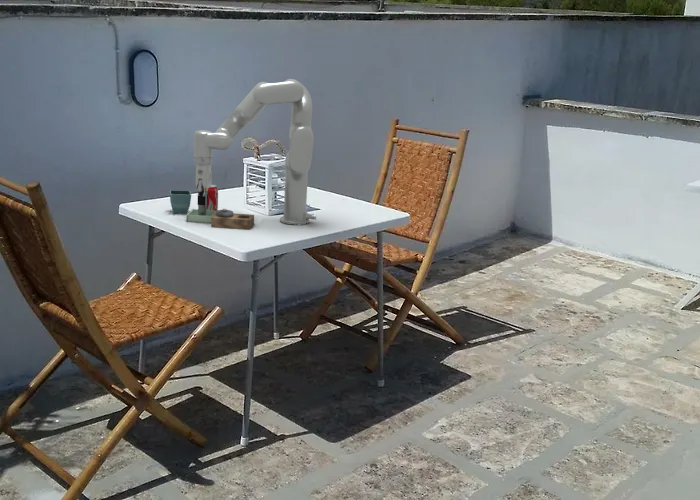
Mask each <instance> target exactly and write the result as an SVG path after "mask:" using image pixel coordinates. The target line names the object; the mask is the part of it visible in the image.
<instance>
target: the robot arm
mask: <svg viewBox="0 0 700 500" xmlns="http://www.w3.org/2000/svg"><path fill="white" fill-rule="evenodd" d="M280 104H291V117H290V118H291V119H290V127H289V132H288V137H289V148H288V149H289V150H288V151H287V153H286V155H285V159H284V170H285V171H284V172H285V173H284V175H285V176H284V197H283V199H284V200H283V216H281V217H279V222H280V223H283V224H285V223H287V224H286V225H291V224H294V225H293V226H297V225H298V224H303V225H306V223H307V224H309V223H310V220H315V221H316V220H317V214H314V213H308V210H307V202H308V201H307V199H308V197H307V196H308V178H309V175H308V174H309V173H308V171H309V170H310V169H311V166H312V160H313V150H314V139H315V138H314V132H313V130H312V118H313V100H312V96H311V95H310V92H309V90H308V88H307V87H306V86H304V85H303V84H302V83H301V82H300V81H298V80H297V79H294V78H287V79H286V80H285V81H281V82H270V83H269V82H266V81H260V82H259V83H256V85H255V86H254V87H253V88H252V89H251V90H250V92H249V93H248V94H247V95H246V96H245V97H244V98H243V99H242V100H241V102H240V103H239V104H238V105H237V106H236V108H234V110H233V111H232V112H231V113H230V115H228V117H227V118H225V120H224V121H223V122H222V123H221V125H220V126H219V127H218V128H217V129H216V130H215V132H212V131H211V130H205V129H200V130H196V131H195V132H194V135H193V136H194V139H193V140H194V142H193V149H194V150H193V152H194V153H193V165H195V188H196V189H197V206H198V205H204V206H205V202H206V196H205V188H206V189H207V203H208V188H209V187H210V186H211V185H212V183H213V181H212V179H213V178H212V165H213V157H214V156H213V150H218V151H226V150H229V149H230V148H231V146H232V143H233V140H234V139H235V137H236V136H237V135H238V134H239V133H240V132H241V130H242V129H244V128H245V127H246V126H248V125H250V124H251V123H252V122H254V121H255V119H256V118H257V117H258V116H259V115H260V114H261V112H262V111H263V110H265V109H264V108H266V106H267V105H268V106H269V105H272V106H273V105H280ZM202 190H203V191H202ZM308 222H309V223H308ZM296 224H297V225H296Z"/></svg>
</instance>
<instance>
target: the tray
mask: <svg viewBox="0 0 700 500" xmlns="http://www.w3.org/2000/svg"><path fill="white" fill-rule="evenodd" d="M215 213H216V211H213V210H206V215H204V216H201V215H198V208H192V209H191V210H190V211H189V212H187V213H186V217H185V218H186V223H199V224H210V225H211V217H212V216H213V215H214V214H215Z"/></svg>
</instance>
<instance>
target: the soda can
mask: <svg viewBox="0 0 700 500" xmlns="http://www.w3.org/2000/svg"><path fill="white" fill-rule="evenodd" d="M218 208H219V189H218V187H217V184H212V185H211V186H210V187H209V188H208V203H207V207H206V210H213V211H217V210H219V209H218Z"/></svg>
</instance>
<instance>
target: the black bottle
mask: <svg viewBox="0 0 700 500" xmlns="http://www.w3.org/2000/svg"><path fill="white" fill-rule="evenodd" d="M202 191H203V190H202ZM205 196H206V202H205V206H204V205H198V204H197V209H198V215H201V216H204V215H206V207H207V189H206V188H205Z"/></svg>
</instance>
